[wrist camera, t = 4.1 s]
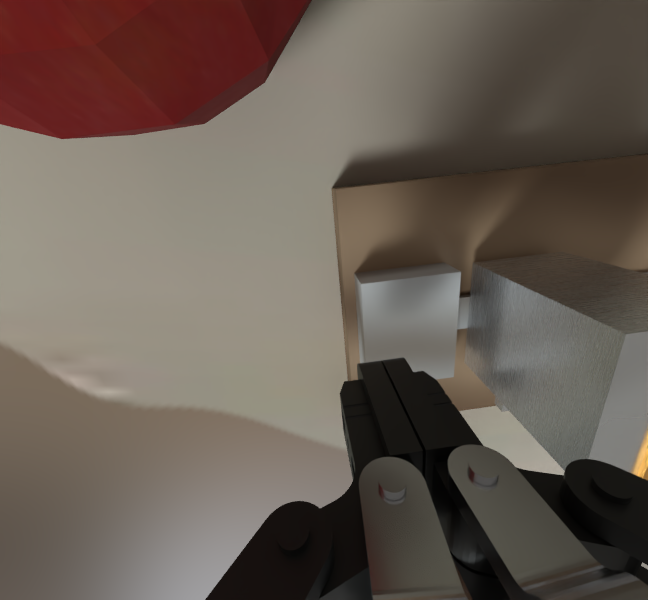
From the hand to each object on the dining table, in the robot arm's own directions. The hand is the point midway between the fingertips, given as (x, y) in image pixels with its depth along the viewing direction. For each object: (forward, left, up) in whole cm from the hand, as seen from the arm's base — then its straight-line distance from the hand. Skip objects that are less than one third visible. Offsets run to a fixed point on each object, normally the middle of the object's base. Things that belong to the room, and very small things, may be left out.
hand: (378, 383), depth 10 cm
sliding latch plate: (0, +10, -6) cm, 11 cm away
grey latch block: (+1, +7, -4) cm, 8 cm away
